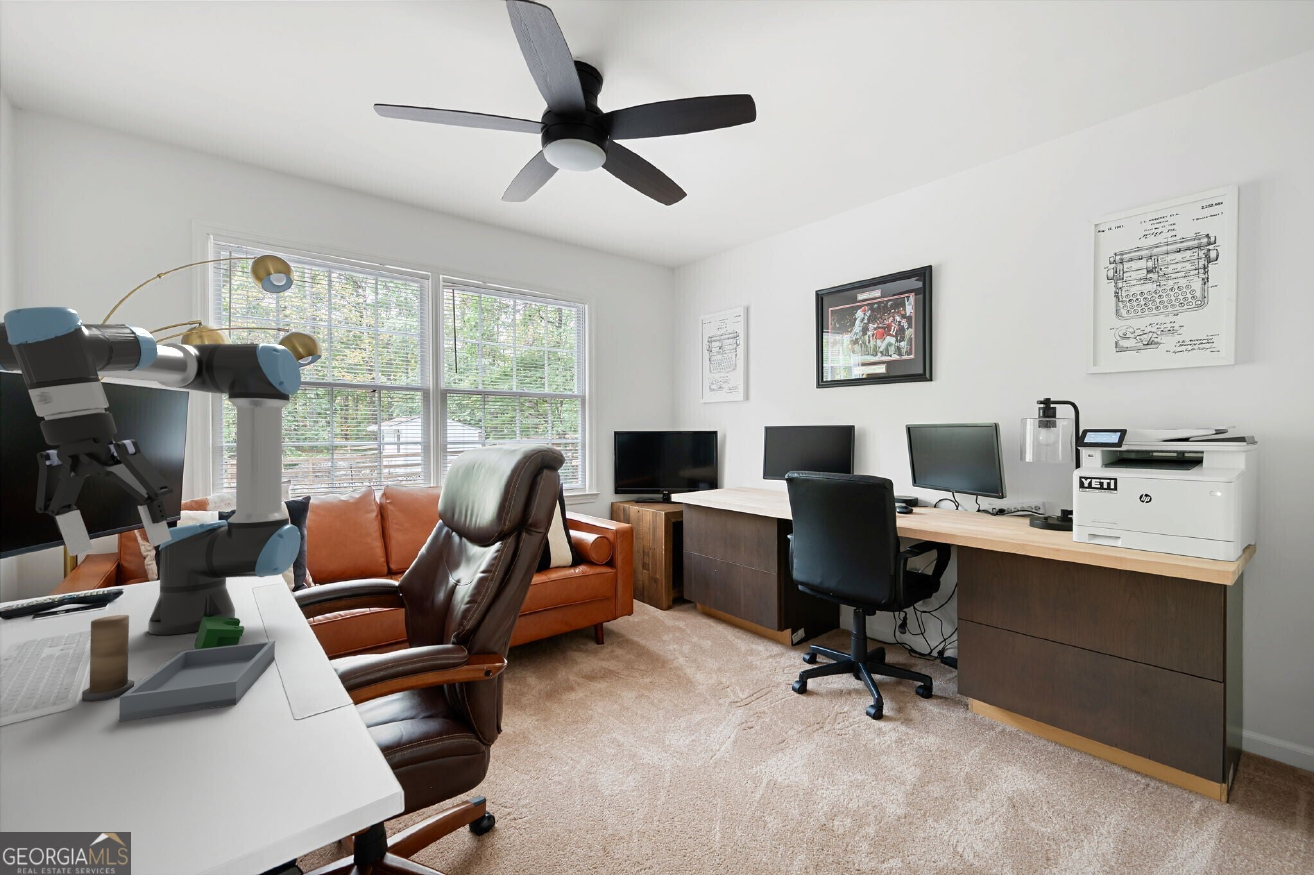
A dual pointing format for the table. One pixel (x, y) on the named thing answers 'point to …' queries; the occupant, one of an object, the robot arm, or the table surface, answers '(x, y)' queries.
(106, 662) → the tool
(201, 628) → the clamp
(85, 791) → the table surface
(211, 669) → the tray
